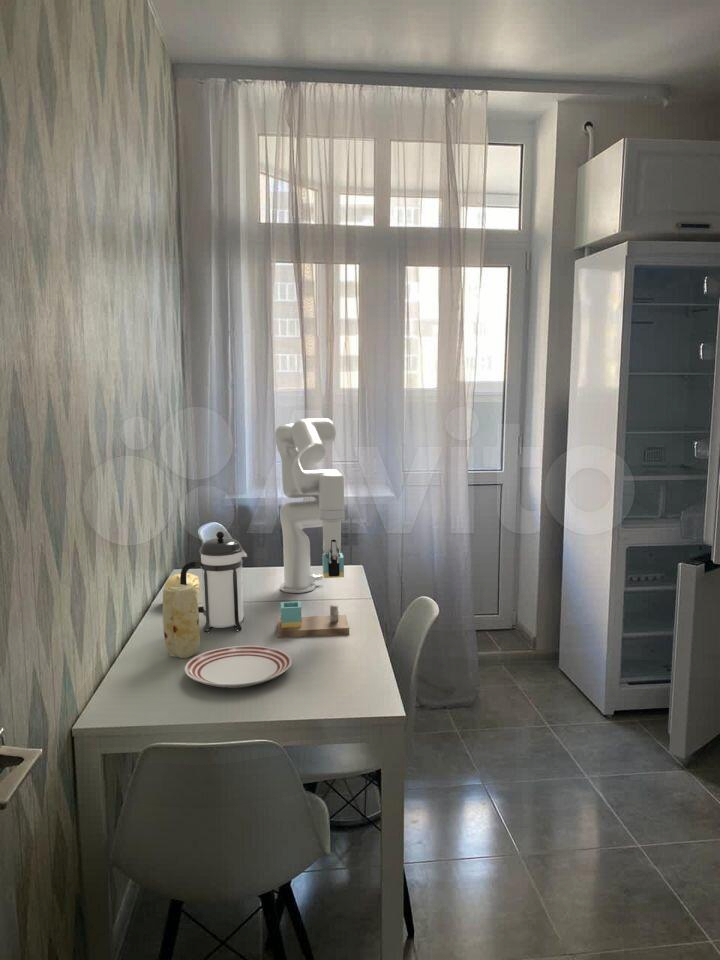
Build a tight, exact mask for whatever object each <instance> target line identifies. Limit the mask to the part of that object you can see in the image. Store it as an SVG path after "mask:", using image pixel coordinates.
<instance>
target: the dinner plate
mask: <svg viewBox="0 0 720 960" xmlns="http://www.w3.org/2000/svg"><path fill="white" fill-rule="evenodd" d="M291 665H292V657H290V655H289V654H288V653H286V652H284V651H282V650H280V649H278V648H274V647H269V646H268V647H267V646H263V645H235V646H226V647H222V648H221V647H219V648H216V649H211V650H208V651H205V652H202V653H200V654H198V655H196V656H193V658H191V659H190V660H189V661H187V663H186V664H185V666H184V672H185V674H186V676H187V677H189V678H190V679H191V680H193V681H196V682H198V683H200V684H204V685H206V686H212V687H219V688H225V687H227V688H226V689H232V688H233V689H237V688H246V687H251V686H256V685H258V684H259V685H260V684H262V683H265V682H267V681H271V680H273V679H275V678H277V677H279V676H280V675H282V674H283V673H285V672H286V671H287V670H288V669H290V667H291Z"/></svg>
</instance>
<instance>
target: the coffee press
mask: <svg viewBox="0 0 720 960" xmlns="http://www.w3.org/2000/svg"><path fill="white" fill-rule="evenodd" d="M198 550H199V551H198V552H199V555H200V561H199V560H198V561H195V560H193V561H189V562H187V563H185V564H184V565H183V567H182V568H181V570H180V571H181V572H180V573H181V575H180V584H182V585H187V581H186V574H187V573H188V571H189V570H190V569H192V568H196V567H197V568H198V567H200V569H201V583H202V585H201V586H202V587H201V588H202V605H203V606H198V611H199V614H200V613H201V614H202V615H203V620H204V623H205V625H204V627H203V629H202V631H203V632H204V633H206V634H209V633H210V632H211V630H213V628H218V629H219V628H222V629H223V628H230V627H232V628H233V629H234V631H235V632H236V631H237V630H238V631H239V632H241V631H242V627H241V623H242V622H244V620H245V617H244V597H243V595H244V594H243V592H244V591H243V568H242V566H243V558H245V557H246V558H247V557H248V554H247V553H246V552H245V550H244V549H243V546H242V545H241V544H240V542H239V541H238V540H237V539H236V538H235V539H234V538H230V537H225V534H224V531H218V532H217V533H216V538H215V537H214V538H211V539H209V540H205V542H203V543H201V546H200V548H199V549H198ZM241 621H242V622H241ZM238 631H237V632H236V633H238ZM208 632H209V633H208Z"/></svg>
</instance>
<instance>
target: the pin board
mask: <svg viewBox="0 0 720 960" xmlns="http://www.w3.org/2000/svg"><path fill="white" fill-rule="evenodd" d="M329 611H330V612H329V615H315V616H301V620H302V627H286V628H282V626H281V617H278V618H277V630H278V631H277V633H278V634H277V636H278V638H279V639H282V638H283V639H285V638H297V637H298V638H299V637H300V638H302V636H304V637H319V636H320V637H321V636H323V637H325V636H338V635H341V636H342V634H343V635H350V625H349V622H348V618H347V614H339V606H338V604H330V606H329Z"/></svg>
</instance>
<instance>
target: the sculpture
mask: <svg viewBox="0 0 720 960" xmlns="http://www.w3.org/2000/svg"><path fill="white" fill-rule="evenodd" d="M180 575H181V572H180V573H176V574H174V575H172V576H170V577H168V578H167V580H166V582H165V583H164V586H163V587H164V588H163V590H164V589H165V588H167V587H169V586H172V585H177V584H180ZM186 581H187V585H190V586H193V587H195V588H196V593H197V599H198V598H199V596H200V589H201V587H200V585H201V583H200V579H199V576H198V575H195V574H192V573H189V572H187V574H186Z"/></svg>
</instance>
